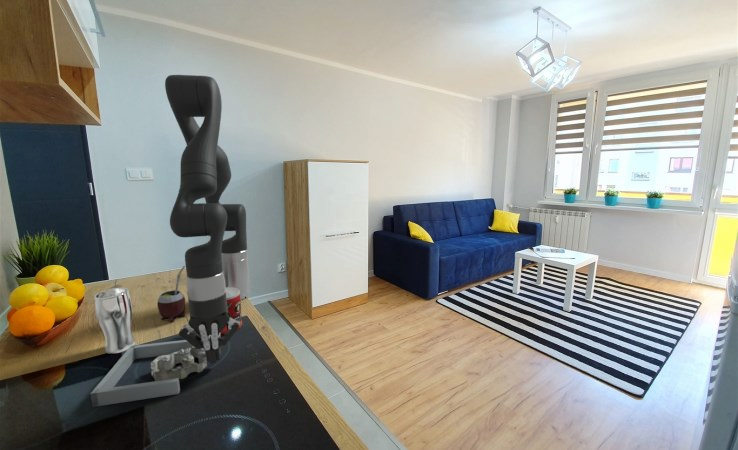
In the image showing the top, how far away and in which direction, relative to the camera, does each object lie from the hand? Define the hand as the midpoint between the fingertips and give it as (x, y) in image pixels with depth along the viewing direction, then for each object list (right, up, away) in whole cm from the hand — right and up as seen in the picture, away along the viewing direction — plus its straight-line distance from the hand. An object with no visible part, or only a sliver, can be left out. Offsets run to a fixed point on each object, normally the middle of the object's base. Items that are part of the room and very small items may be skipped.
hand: (214, 361), depth 71 cm
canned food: (-5, +2, +18) cm, 18 cm away
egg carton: (-7, -2, -1) cm, 8 cm away
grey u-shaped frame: (-12, -2, -2) cm, 13 cm away
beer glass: (-28, 0, +8) cm, 29 cm away
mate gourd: (-24, +3, +23) cm, 33 cm away
